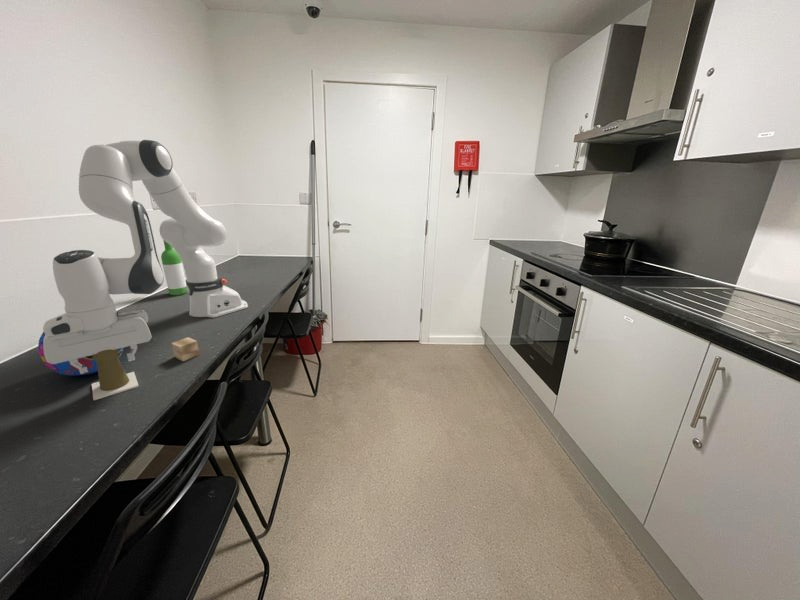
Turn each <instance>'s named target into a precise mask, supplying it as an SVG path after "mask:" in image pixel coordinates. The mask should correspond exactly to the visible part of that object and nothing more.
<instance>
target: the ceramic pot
mask: <svg viewBox="0 0 800 600" xmlns="http://www.w3.org/2000/svg"><path fill="white" fill-rule="evenodd" d="M44 336H45V333H44V331H43V332H42V333H41V335H40V337H39V340H38V346H37V347H38V354H39V357H40V359H41V360H42V362H43V363H44V365H45V366H46V367H48V368H49V369H50V370H52V371H54V372H55V373H58V374H60V375H64V376H81V375H82V376H86V375H90V374H91V375H92V374H94V373H98V368H97V362H96V361H94V359H93V358H92V356H91V355H90V356H86V357H82V358H78V363H80V364H81V365H84V364H87V368H88V371H89V372H87V373H84V374H80V371H79V369H78V368H76V367H74V366H72V365H71V364H70V362H69V361H65V362H61V363H57V364H50V363H48V362H46V359H45V355H44V350H43V341H44ZM124 348H125V347H123V348H119V349H118V351H119V354H118V356H117V357H118V359H119V360H120V358H121V356H122V354H123V352H124Z"/></svg>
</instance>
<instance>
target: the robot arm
mask: <svg viewBox="0 0 800 600" xmlns="http://www.w3.org/2000/svg"><path fill="white" fill-rule="evenodd" d="M84 151H85V152H83V153H84V154H83V156H82V160H81V162H80V167H79V174H78V194H79V199H80V201H81V202H82V203H83V204H84V205H85V207H87V208H88V209H89V210H90V211H92V212H93V213H95V214H97V215H99V216H101V217H104V218H106V219H109V220H112V221H115V222H119V223H123V224H125V225H128V227H129V230H130V235H131V240H132V245H133V249H134V254H133V256H131V257H121V258H120V257H118V258H116V257H115V258H112V257H111V258H109V257H105V258H103V257H100V256H98V255H97V253H95V252H94V251H92V250H89V249H79V250H78V249H77V250H76V249H75V250H70V251H65V252H61V253H59V254H57V255H56V256H54V258H53V259H52V271H53V272H52V273H53V277H54V281H55V284H56V288H57V291H58V293H59V295H60V296H61V297H62V298H63V301H64V311H65V313H62V314H61V315H58V316H55V317H53V318H50V319H48V320H46V322H45V323H44V324H43V325H42V330H43V332H44V333H45V336H44V341H43V350H44V355H45V359H46V362H48V363H50V364H57V363H61V362H65V361H69V362H70V364H71V365H72V366H74V367H76V368H78V369H79V371H80V374H84V373H87V372H89V371H88V368H87V364H84V365H81V364H80V363H78V358H82V357H86V356H90V355H94V354H97V353H98V352H100V351H104V350H115V349H119V348H123V347H124V348H126V347H130V352H129V353H126V357H127V361H128V362H131V361H135V360H136V357H135V354H136V352H137V350H138V345H139V344H144V343H147V342H150V341H151V339H152V337H153V336H152V334H151V330H150V328H149V326H148V324H147V323H148V322H149V316H148V313H147V312H146V311H145V310H142V309H139V308H138V309H137V308H135V309H132V310H124V311H118V312H117V309H116V306H115V303H114V300H113V298H112V297H111V296H110V295H114V296H115V295H127V294H129V295H130V294H133V295H151V294H153V293H155V292H156V291H157V290H159V288H161V286H163V283H164V281H165V280H164V271H163V269H162V266H161V262H160V260H159V258H158V257H159V256H158V253H157V252H158V251H157V248H156V244H155V238H154V233H153V229H152V225H151V221H150V217H149V214H148V212H147V210H146V208H145V207H144V205H143V204H142V203H141V202H138V201H137V200H136V199H135V197H134V196H135V195H134V192H133V190H134V187H133V182H135V181H141V182H142V184H143V185H144V187H145V189H146V191H147V192H148V194H149V195H150V197H151V198H152V200H153V202H155V204H156V206H157V208H159V210H160V211H161V212H162V213H163V214H164V215H166V216H168V217H170V218H169V219H165V220H163V221H162V222H161V223H160V225H159V236H160V237H161V239H162V240H164V241H165V242H167V243H168V244H170V245H171V246H172V247H173V249H174V250H175V251H176V252H177V254H178V255H179V257H180V259H181V262H182V266H183V271H184V275H185V280H186V287H187V294H188V298H189V313H188V315H189V316H191V317H192V318H193V317H194V318H217V317H220V316H224V315H228V314H231V313H234V312H239V311H241V310H245V309H247V308H248V307H249V305H248V302H247V301H245V300H244V299H242V298H241V295H240V294H239V293H238V292H237V291H236V290H234V289H232V288H231V287H228V286H227V285H228V284H227V283H228V281H227V279H225V278H221V277H220V276H219V277H218V272H217V265H216V262H215V260H214V258H213V257H212V256H211V255H209V254H207V252H206V251H204V249H203V248H212V247H218V246H222V245H223V244H225V241H226V240H227V236H228V232H227V229H226V227H225V225H224V224H223V223H222V222H221V221H220V220H218V219H217V220H216V219H215V218H213V217H212V216H210V215H209V214H208V213H206V212H205V210H203V209H202V208H201V207H200V205H198V204H197V203H196V201H194V199H193V197H192V196H191V194H190V193H189V192H188V190H187V188H186V186H185V184H184V183H183V181H182V179H181V178H180V176H179V175H178V173H177V171H176V170H175V169H174V167H173V164H174V162H173V159H172V156H171V154H170V152H169V151H168V149H167V148H166V147H165V146H164V145H163V144H161V143H160V142H158V141H156V140H150V139H142V140H122V141H119V142H118V141H117V142H113V143H108V144H95V145H91V146H89V147H87V148H86V149H85V150H84ZM164 241H163V242H164Z"/></svg>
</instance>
